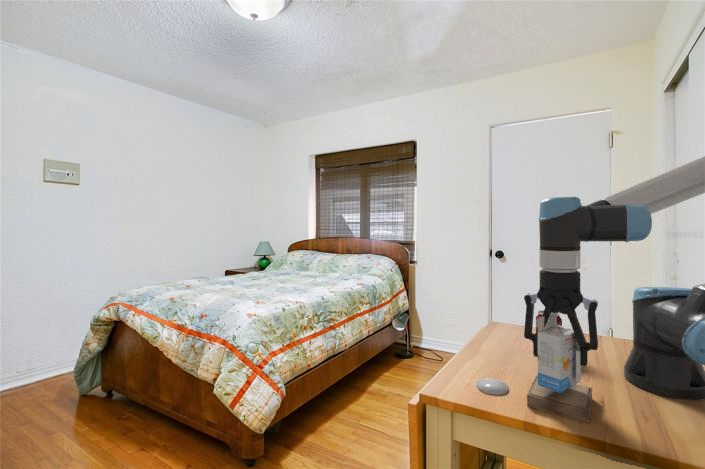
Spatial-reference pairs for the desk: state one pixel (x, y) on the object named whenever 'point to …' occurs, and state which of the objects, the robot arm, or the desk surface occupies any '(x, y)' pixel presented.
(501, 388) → the light grey domed disc
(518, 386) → the desk surface
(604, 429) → the desk surface
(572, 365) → the ink box
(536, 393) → the square tray
